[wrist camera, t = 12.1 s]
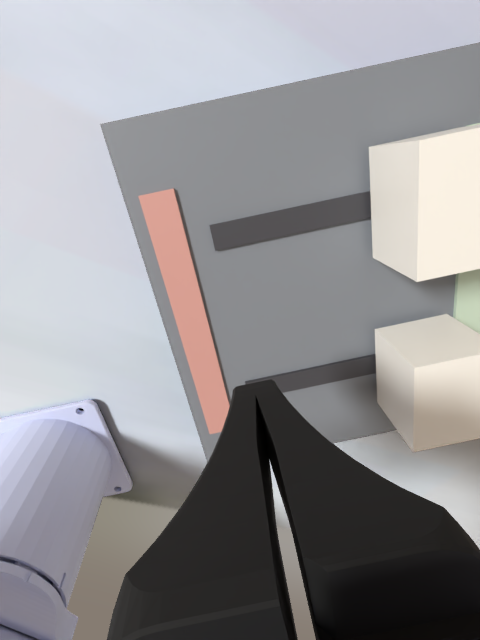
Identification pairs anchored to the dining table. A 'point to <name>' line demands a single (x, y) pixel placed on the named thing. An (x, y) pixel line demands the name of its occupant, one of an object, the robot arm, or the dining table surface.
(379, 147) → the switch
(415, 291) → the switch panel
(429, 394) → the switch
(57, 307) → the dining table surface
